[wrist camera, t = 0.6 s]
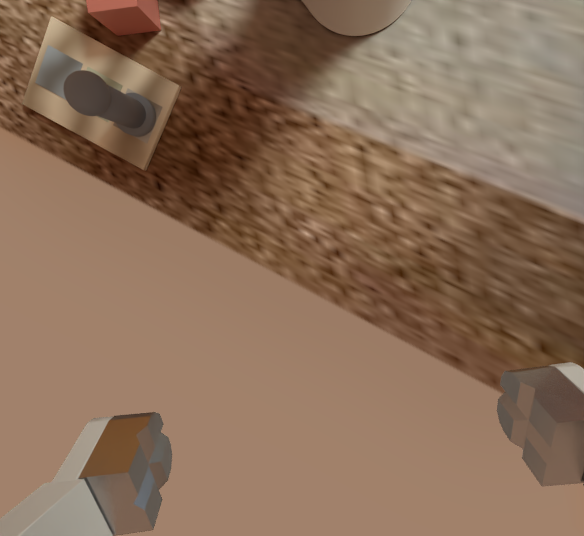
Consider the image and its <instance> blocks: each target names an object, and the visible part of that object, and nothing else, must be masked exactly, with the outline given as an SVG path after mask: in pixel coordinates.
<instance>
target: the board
mask: <svg viewBox="0 0 584 536" xmlns="http://www.w3.org/2000/svg"><path fill="white" fill-rule="evenodd" d="M79 70H86V71H90V72H93V73H95V74H97V75H98V76H100V77H101V78H102V79H103V80H104V81H105V82H106V84H107V85H109V86H111V87H113V88H115V89H117V90H119V91H121V92H122V93H124V94H126V93H137V94H140V95H141V96H143V97H145V98H147V99H148V100H149V101H150V102H151V103H152V105H153V106H154V109H155V112H156V122H155V125H154V127H153V129H152V130H151V132H149V133H148V134H147V135H144V136H140V137H137V136H132V135H129V134H127V133H125V132H123V131H122V130H121V129H120V128H119V127H118V126H117V124H116V123H115V122H112V121H110V120H107V119H104V118H102V117H99V116H86V115H83V114H81V113H79V112H77V111H76V110H74V109H73V108H72V107H71V106H70V105H69V103H68V102H67V100H66V98H65V95H64V90H63V87H64V82H65V80H66V78H67V77H68V76H69V75H70V74H71V73H73V72H75V71H79ZM181 88H182V87H180V86H179V85H177V84H175V83H173V82H172V81H170V80H168V79H166V78H164V77H162V76H161V75H159V74H157V73H155V72H153V71H151V70H149V69H148V68H146V67H144V66H142V65H140V64H138V63H137V62H135V61H133V60H131V59H129V58H127V57H126V56H124V55H122V54H120V53H118V52H116V51H114V50H113V49H111V48H109V47H107V46H105V45H103V44H102V43H100V42H98V41H96V40H94V39H92V38H91V37H89V36H87V35H85V34H83V33H81V32H79V31H78V30H76V29H74V28H72V27H70V26H68V25H67V24H65V23H63V22H61V21H59V20H57V19H55V18H54V17H52V16H51V19H50V22H49V25H48V28H47V31H46V34H45V37H44V40H43V43H42V46H41V49H40V51H39V54H38V57H37V60H36V63H35V66H34V69H33V72H32V75H31V78H30V81H29V84H28V87H27V90H26V93H25V96H24V99H23V102H22V104H23V105H25V106H27V107H29V108H30V109H32V110H34V111H36V112H38V113H40V114H41V115H43V116H45V117H47V118H49V119H51V120H52V121H54V122H56V123H58V124H60V125H62V126H63V127H65V128H67V129H69V130H71V131H73V132H74V133H76V134H78V135H80V136H82V137H84V138H85V139H87V140H89V141H91V142H93V143H95V144H96V145H98V146H100V147H102V148H104V149H106V150H107V151H109V152H111V153H113V154H115V155H117V156H118V157H120V158H122V159H124V160H126V161H128V162H129V163H131V164H133V165H135V166H137V167H139V168H140V169H142V170H147V167H148V165H149V163H150V160H151V158H152V156H153V153H154V151H155V149H156V146H157V144H158V142H159V139H160V137H161V135H162V132H163V130H164V128H165V125H166V123H167V120H168V118H169V116H170V113H171V111H172V109H173V106H174V104H175V102H176V99H177V97H178V95H179V92H180V90H181Z"/></svg>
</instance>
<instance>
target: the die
mask: <svg viewBox="0 0 584 536" xmlns="http://www.w3.org/2000/svg"><path fill="white" fill-rule="evenodd" d="M86 1H87V8H88V13H89V14H90V15H92V16H93V17H94V18H95V19H97V20H98V21H99V22H101V23H102V24H103V25H104V26H106V27H107V28H108V29H109V30H111V31H112V32H113V33H114V34H116V35H117V36H121V35H129V34H137V33H145V32H152V31H160V30H161V25H160V16H159V7H158V0H86Z"/></svg>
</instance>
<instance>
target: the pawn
mask: <svg viewBox="0 0 584 536" xmlns="http://www.w3.org/2000/svg"><path fill="white" fill-rule="evenodd" d="M63 90H64V95H65V98H66V100H67V102H68V103H69V105H70V106H71V107H72V108H73V109H74V110H76V111H77V112H79V113H81V114H83V115H86V116H99V117H102V118H104V119H107V120H110V121H112V122H115V123H116V124H117V126H118V127H119V128H120V129H121V130H122V131H123V132H125V133H127V134H129V135H132V136H137V137H140V136H144V135H147V134H148V133H149V132H151V130H152V129H153V127H154V125H155V122H156V112H155V109H154V106H153V105H152V103H151V102H150V101H149V100H148V99H147V98H145V97H143V96H141V95H140V94H137V93H126V94H124V93H122V92H121V91H119V90H117V89H115V88H113V87H111V86H109V85H107V84H106V82H105V81H104V80H103V79H102V78H101V77H100V76H98V75H97V74H95V73H93V72H90V71H86V70H79V71H75V72H73V73H71V74H70V75H69V76H68V77H67V78H66V80H65V82H64V87H63Z"/></svg>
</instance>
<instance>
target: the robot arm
mask: <svg viewBox="0 0 584 536" xmlns="http://www.w3.org/2000/svg"><path fill="white" fill-rule="evenodd" d="M301 1H302V2H303V3H304V4H305V5H306V7H307V8H308V10H309V11H310V12H311V14H312V15H313V16H314V17H315V19H316V20H317V21H318V22H320V23H321V24H322V25H323V26H325V27H326V28H328V29H330V30H331V31H334V32H336V33H339V34H343V35H348V36H362V35H367V34H371V33H374V32H377V31H379V30H381V29H383V28H385V27H387V26H388V25H390V24H391V23H393V22H394V21H395V20H396V19H397V18H398V17H399V16H400V15H401V14H402V13H403V12H404V11H405V10H406V8H407V7H408V5H409V4H410V2H411V1H412V0H301ZM500 385H501V386H502V387H503V389H504V390H505V392H504V393H503V395H502V396H501V397H500V398H499V399H498V405H497V412H498V417H499V421H500V424H501V426H502V428H503V431H504V432H505V434H506V435H507V437H508V438H509V440H510V441H511V442H513V443H514V444H516V445H517V446H519V447H521V448H522V449H523V456H522V459H523V460H524V461H525V463H526V465H527V466H528V467H529V469H530V470H531V472H532V473H533V474H534V476H535V477H536V479H537V480H538V482H539V483H540V484H541V486H553V485H565V484H577V483H584V369H583V368H581V367H580V366H579V365H577V364H574V363H572V362H570V363H563V364H555V365H549V366H541V367H533V368H525V369H517V370H509V371H505V372H504V373H503V375H502V377H501V383H500ZM162 427H163V422H162V419H161V416H160V414H159V413H156V412H152V413H141V414H131V415H120V416H114V417H103V418H94V419H92V420H91V421H89V422H88V423H87V424H86V426H85V428H84V429H83V431H82V433H81V434H80V436H79V438H78V439H77V441H76V443H75V444H74V446H73V448H72V449H71V451H70V452H69V454H68V456H67V458H66V459H65V461H64V463H63V464H62V466H61V468H60V469H59V471H58V472H57V474H56V476H55V478H54V479H53V481H52V482H51V483H45V484H43V485H42V486H41V487H39V488H38V489H37V490H36V491H34V492H33V493H32V494H31V495H29V496H28V497H27V498H26V499H24V500H23V501H22V502H21V503H19V504H18V505H17V506H16V507H15V508H13V509H12V510H11V511H9V512H8V513H7V514H6V515H4V516H3V517H2V518H1V519H0V536H116V535H123V534H129V533H137V532H143V531H151V530H153V529H154V526H155V522H156V519H157V516H158V512H159V509H160V506H161V502H162V497H161V495H160V492H159V489H160V488H161V487H162V486H163V485H164V484H165V483H166V482H167V481H168V478H169V474H170V470H171V462H172V450H171V444H170V441H169V438H168V437H167V436H165V435H164V434H163V433H161V429H162ZM583 485H584V484H583Z"/></svg>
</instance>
